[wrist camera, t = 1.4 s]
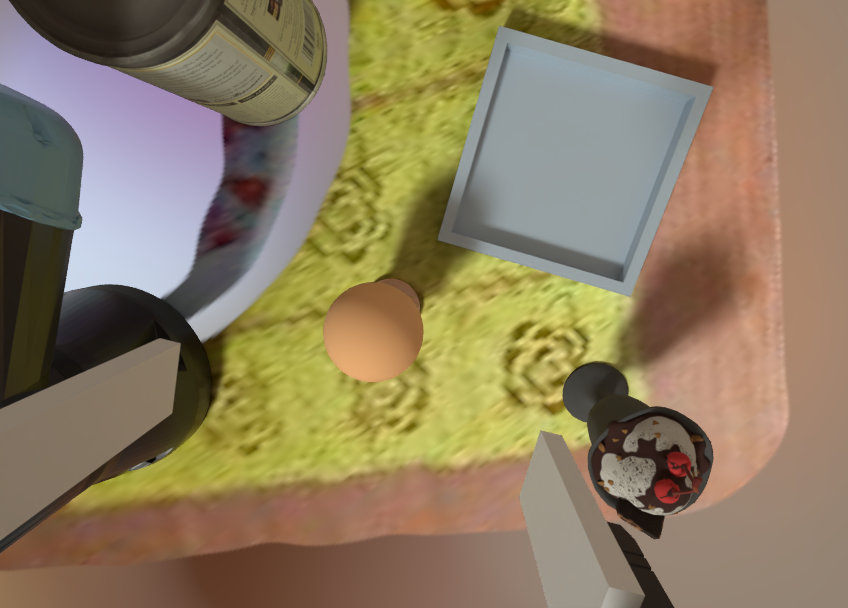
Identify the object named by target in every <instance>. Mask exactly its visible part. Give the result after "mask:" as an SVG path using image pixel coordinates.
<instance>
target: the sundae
mask: <svg viewBox="0 0 848 608" xmlns="http://www.w3.org/2000/svg"><path fill="white" fill-rule="evenodd" d="M563 401H564V404H565V407H566V408H567V410H568V411H569V412H570V413H571V415H572V416H574V417H575V418H577V419H579V420H581V421H583V422H587V426H588V433H589V437H590V440H591V443H592V446H591V448H590V450H589V453H588V470H589V473H590V477H591V480H592V483H593V485H594V488H595V490H596V491H597V492H598V494H599V495H600V497H601V498H602V499H603V500H604V501H605V502H606V503H607V504H608V505H609V506H611V507H612V508H614V509H616V510H617V514H618V516H619V517H620V518H621V519H622V520H624V521H625V522H627V523H628V524H630V525H631V526H633V527H634V528H636V529H638V530H640V531H642V532H644V533H646V534H647V535H648V536H650V537H651V538H653V539H660V535H661V532H662V527H663V522H664V517H665V516H667V515H673V514H678V512H680V511H682V510H685V509H686V508H688V507H689V506H690V505H692V504H693V503H695V501H696V500H697V499H698V497H699V496H700V495H701V493H702V492H703V490H704V488H705V486H706V484H707V481H708V478H709V475H710V472H711V468H712V463H713V449H712V445H711V442H710V440H709V438H708V437H707V435H706V434H705V432H704V431H703V430H702V429H701V428H700V427H699V426H698V424H696V423H695V422H693V421H692V420H691V419H689V418H688V417H686V416H685V415H683V414H681V413H679V412H677V411H675V410H672V409H669V408H666V407H659V406H656V407H649V406H648V405H646V404H645V403H643V402H641V401H639V400H637V399H635V398H633V397H631V396H628V387H627V383H626V380H625V379H624V377H623V376H622V374H621V373H620V372H619V371H618V370H616V369H615V368H613V367H611V366H609V365H606V364H600V363H593V364H588V365H585V366H582V367H580V368H578V369H577V370H575V371H574V372H573V373H572V374H571V375H570V376H569V377H568V379H567V381H566V382H565V384H564V388H563Z"/></svg>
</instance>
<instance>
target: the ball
mask: <svg viewBox="0 0 848 608" xmlns="http://www.w3.org/2000/svg"><path fill="white" fill-rule="evenodd" d="M323 335H324V343H325V347H326V350H327V352H328V354H329V356H330V358H331V360H332V361H333V362H334V364H335V365H336V366H337V367H338V368H339V369H340V370H341V371H342V372H344V373H345V374H347V375H349V376H351V377H353V378H355V379H358V380H361V381H367V382H379V381H385V380H388V379H391V378H394V377H396V376H398V375H399V374H401V373H402V372H403V371H405V370H406V369H407V368H408V367H409V366H410V365H411V364H412V363H413V361H414V360H415V359H416V357H417V355H418V353H419V351H420V348H421V346H422V341H423V322H422V318H421V315H420V312H419V310H418V308H417V307H416V305H415V304H414V302H413V301H412V300H411V299H410V297H409V296H407V295H406V294H405V293H404V292H403V291H401V290H400V289H398V288H396V287H394V286H391V285H388V284H384V283H378V282H368V283H362V284H359V285H356V286H354V287H352V288H349V289H348V290H346V291H345V292H343V293H342V294H341V295H340V296H339V297H338V298H337V299H336V300H335V301H334V302H333V304H332V305H331V307H330V308H329V311H328V313H327V315H326V318H325V322H324V329H323Z"/></svg>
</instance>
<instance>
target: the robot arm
mask: <svg viewBox="0 0 848 608" xmlns="http://www.w3.org/2000/svg"><path fill="white" fill-rule="evenodd" d="M82 167H83V149H82V145H81V142H80V139H79V137H78V135H77V134H76V132H75V131H74V129H73V128H72V126H71V125H70V124H69V123H68V122H67V121H66V120H65V119H64V118H63V117H62V116H61V115H59V114H58V113H57V112H55V111H54V110H52V109H51V108H49V107H47V106H46V105H44V104H42V103H40V102H38V101H36V100H34V99H32V98H30V97H28V96H26V95H24V94H22V93H19V92H17V91H15V90H13V89H11V88H9V87H7V86H5V85H2V84H0V553H1V552H3V551H4V550H5V549H7V548H8V547H9V546H11V545H12V544H13V543H15V542H16V541H17V540H19V539H20V538H21V537H23V536H24V535H26V534H27V533H28V532H30V531H31V530H32V529H34V528H35V527H36V526H38V525H39V524H40V523H42V522H43V521H44V520H46V519H47V518H48V517H50V516H51V515H52V514H54V513H55V512H56V511H58V510H59V509H60V508H62V507H63V506H64V505H66V504H67V503H68V502H70V501H71V500H72V499H73V498H75V497H76V496H78V495H79V494H80V493H82V492H83V491H84V490H86V489H87V488H88V487H90V486H91V485H94V484H97V483H100V482H103V481H106V480H109V479H111V478H114V477H117V476H119V475H122V474H124V473H126V472H128V471H132V470H136V469H140V468H143V467H146V466H149V465H151V464H154V463H156V462H158V461H160V460H162V459H163V458H165V457H167V456H168V455H170V454H171V453H172V452H173V451H175V450H176V449H177V448H178V447H179V446H181V445H182V444H183V443H184V442H185V441H187V440H188V439H189V438H190V437H191V436H192V435H193V434H194V433H195V432H196V430H197V429H198V428H199V426H200V425H201V423H202V421H203V419H204V418H205V415H206V413H207V410H208V407H209V403H210V398H211V389H212V381H211V372H210V366H209V362H208V359H207V356H206V353H205V350H204V348H203V346H202V344H201V342H200V340H199V338H198V336H197V335H196V333H195V332H194V330H193V329H192V328H191V326H190V325H189V324H188V322H187V321H186V320H185V319H184V318H183V317H182V316H181V315H180V314H179V313H178V312H177V311H176V310H175V309H173V308H172V307H171V306H170V305H168V304H167V303H165V302H164V301H163V300H161V299H159V298H157V297H156V296H154V295H152V294H150V293H147V292H145V291H143V290H140V289H137V288H133V287H129V286H123V285H111V284H108V285H97V286H92V287H87V288H81V289H77V290H72V291H68V292H65V293H64V288H65V281H66V276H67V270H68V263H69V257H70V250H71V244H72V239H73V233H74V230H76V229H79V228H80V227H81V224H82V217H81V215H80V213H79V211H78V208H79V197H80V187H81V177H82ZM519 498H520V502H521V506H522V510H523V514H524V518H525V521H526V525H527V529H528V533H529V537H530V541H531V544H532V548H533V552H534V556H535V559H536V564H537V568H538V571H539V575H540V579H541V582H542V587H543V591H544V594H545V598H546V602H547V606H548V608H674V606H673V605H672V603H671V601H670V599H669V598H668V596H667V594H666V593H665V591H664V589H663V588H662V586H661V584H660V582H659V580H658V579H657V577H656V575H655V574H654V572H653V571H651V567H650V565H649V563H648V561H647V560H646V558H644V555H643V553H642V551H641V549H640V548H639V546H638V544H637V543H636V541H635V539H634V538H632V536H631V535H630V534H629V533H628V532H627V531H626V530H625V529H624V528H623V527H622V526H621V525H618V524H614V523H610V522H606V520H605V518H604V516H603V514H602V512H601V510H600V508H599V506H598V504H597V502H596V501H595V499H594V497H593V495H592V493H591V491H590V489H589V487H588V485H587V483H586V481H585V479H584V478H583V476H582V474H581V472H580V470H579V468H578V466H577V464H576V462H575V460H574V458H573V456H572V455H571V453H570V451H569V449H568V447H567V445H566V443H565V441H564V439H563V437H562V435H558V434H553V433H549V432H545V431H540V434H539V437H538V440H537V443H536V446H535V449H534V452H533V456H532V459H531V462H530V465H529V468H528V471H527V474H526V477H525V480H524V483H523V486H522V489H521V493H520V496H519Z"/></svg>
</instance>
